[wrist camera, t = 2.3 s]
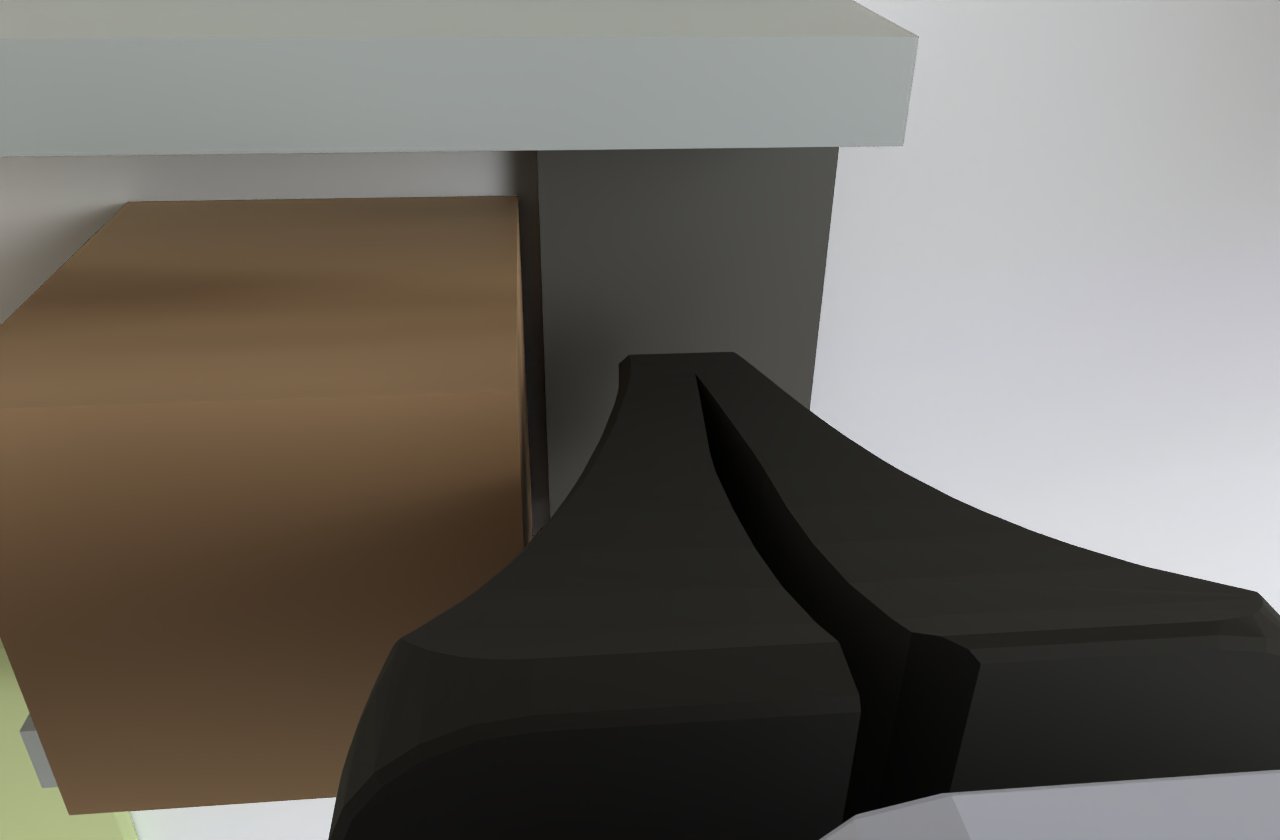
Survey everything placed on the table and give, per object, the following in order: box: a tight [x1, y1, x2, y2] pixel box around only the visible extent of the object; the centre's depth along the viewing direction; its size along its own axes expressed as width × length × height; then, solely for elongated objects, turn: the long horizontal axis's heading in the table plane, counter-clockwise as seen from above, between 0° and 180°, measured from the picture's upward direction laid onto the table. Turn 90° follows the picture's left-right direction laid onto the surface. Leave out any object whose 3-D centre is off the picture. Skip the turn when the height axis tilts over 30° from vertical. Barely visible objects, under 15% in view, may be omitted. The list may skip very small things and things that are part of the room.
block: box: [0, 196, 532, 815], centre depth 11 cm, size 4×4×5 cm
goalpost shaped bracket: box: [0, 0, 919, 788], centre depth 12 cm, size 9×10×2 cm
